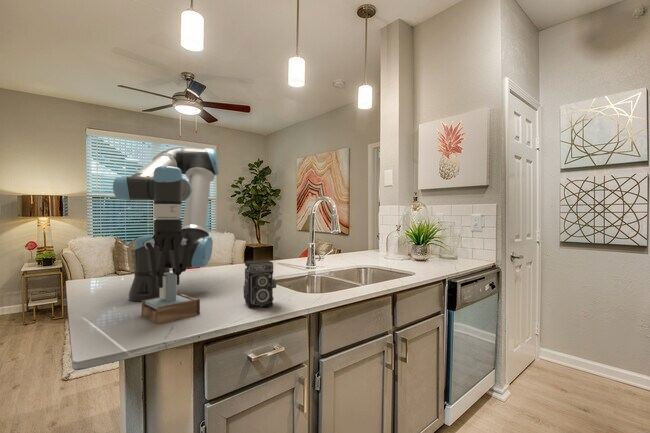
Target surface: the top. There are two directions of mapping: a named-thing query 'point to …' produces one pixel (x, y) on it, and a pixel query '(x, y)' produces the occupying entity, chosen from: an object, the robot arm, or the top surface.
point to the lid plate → (161, 303)
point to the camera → (259, 283)
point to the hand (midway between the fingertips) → (168, 297)
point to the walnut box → (171, 310)
